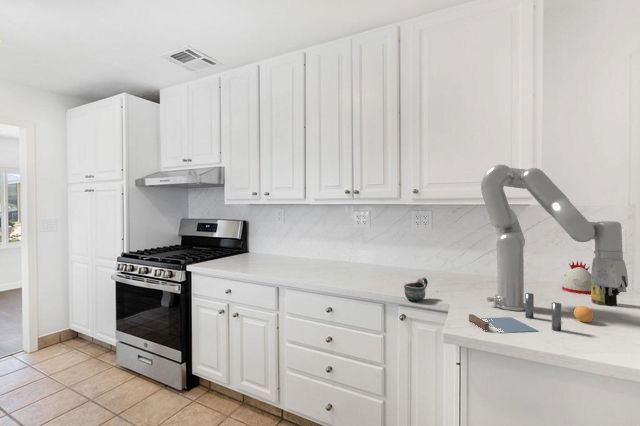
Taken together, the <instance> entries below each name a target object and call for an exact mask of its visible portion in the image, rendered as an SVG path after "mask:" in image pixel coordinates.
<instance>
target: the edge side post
mask: <svg viewBox="0 0 640 426" xmlns="http://www.w3.org/2000/svg"><path fill="white" fill-rule="evenodd" d="M551 330H552V331H554V332H562V303H560V302H551Z"/></svg>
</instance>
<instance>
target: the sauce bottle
mask: <svg viewBox="0 0 640 426" xmlns="http://www.w3.org/2000/svg"><path fill="white" fill-rule="evenodd" d="M590 299H591V302H592V303H593V304H594V305H603V306H606V305H605V299H604V294H603V293H602V290H601V289H600V288H599V287H597V286H595V284H594V283H592V280H591V294H590Z"/></svg>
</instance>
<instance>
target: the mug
mask: <svg viewBox="0 0 640 426" xmlns="http://www.w3.org/2000/svg"><path fill="white" fill-rule="evenodd" d="M428 282H429V281H428V279H427V278H426V277H424V276H419V277H418V278H417V280H416V282H408V283H405V284H403V288H404V295H405V297H406V299H408V300H409V301H412V302H419V301H423V300H424V299H425V297H426V289H427V287H428V284H429V283H428Z"/></svg>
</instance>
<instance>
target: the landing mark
mask: <svg viewBox="0 0 640 426" xmlns="http://www.w3.org/2000/svg"><path fill="white" fill-rule="evenodd" d="M480 318H481V317H480ZM481 319H487V320H488V322H487V323H489V324H490V323H491V324H492V325H493V326H494V327H495V328H497V329H498V328H499V329H500V328H501V331H502V330H503V331H504V332H512V333H530V332H534V331H536V332H539V330H538V329H536V328H534V327H531V326H530V325H528V324H526V323H524V322H523V321H522V322H521V321H520V320H518V319H516V318H515V317H514V318H513V317H512V316H506V317H505V316H503V317H502V316H501V317H482V318H481ZM491 319H492V320H493V321H492V320H491ZM487 320H486V321H487ZM489 320H490V321H489ZM491 324H490V325H491ZM490 325H489V326H490ZM492 325H491V326H492ZM491 326H490V327H491ZM493 326H492V327H493ZM490 327H489V328H490ZM499 331H500V330H499Z"/></svg>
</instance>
